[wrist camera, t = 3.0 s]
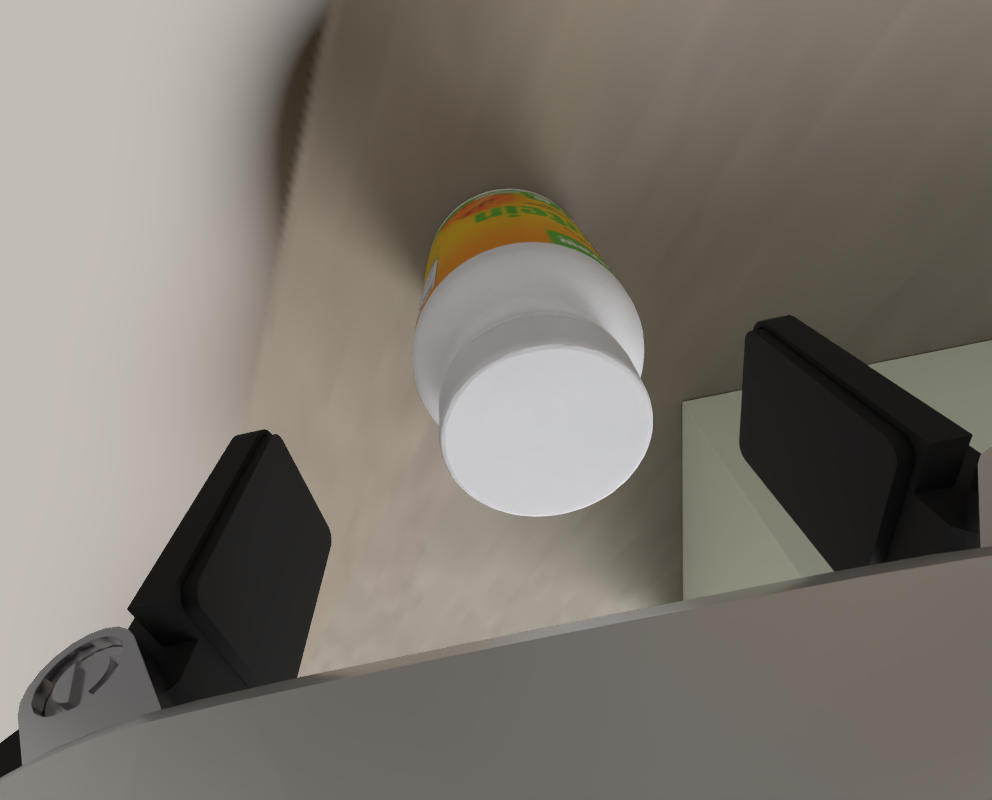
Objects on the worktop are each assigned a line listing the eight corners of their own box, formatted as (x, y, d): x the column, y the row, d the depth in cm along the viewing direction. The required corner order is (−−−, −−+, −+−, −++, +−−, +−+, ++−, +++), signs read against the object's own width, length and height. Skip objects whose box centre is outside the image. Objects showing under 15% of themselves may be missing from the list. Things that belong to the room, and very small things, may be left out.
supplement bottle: (605, 205, 17) (748, 333, 8) (559, 351, 19) (634, 554, 11) (440, 168, 16) (420, 271, 8) (417, 327, 18) (384, 528, 10)
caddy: (682, 401, 21) (890, 707, 11) (1143, 309, 20) (1846, 551, 10) (683, 628, 30) (799, 917, 19) (1005, 572, 29) (1305, 845, 18)
